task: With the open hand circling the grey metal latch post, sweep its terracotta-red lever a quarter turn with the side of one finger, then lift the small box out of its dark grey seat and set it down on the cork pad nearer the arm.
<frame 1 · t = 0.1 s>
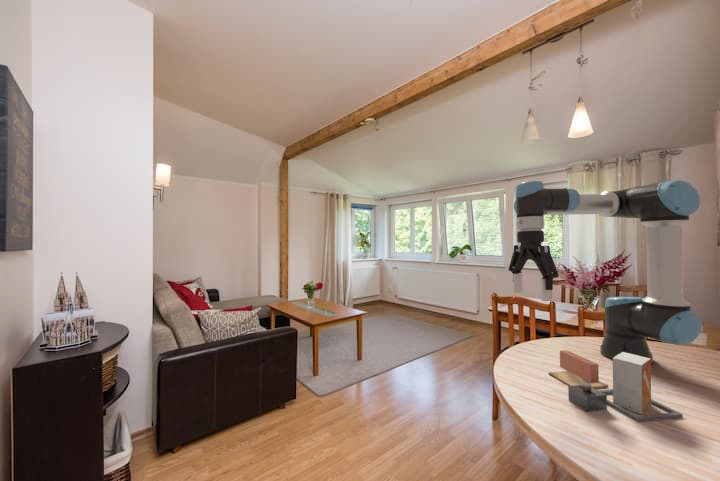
hand: (531, 296, 96), 28 cm above the table, fingers open, 13 cm apart
key housing: (587, 404, 83), on the table
small box: (632, 405, 83), resting in seat rim
seat rim: (632, 404, 83), on the table
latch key: (578, 370, 86), point 8 cm above the table, hinge at 0.0°
cork pad: (576, 380, 97), on the table
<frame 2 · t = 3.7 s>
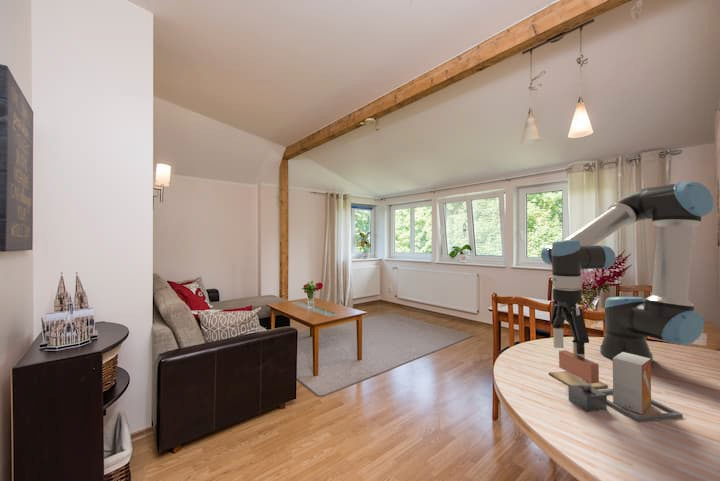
hand: (568, 355, 95), 9 cm above the table, fingers open, 13 cm apart
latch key: (577, 371, 86), point 8 cm above the table, hinge at 2.5°, touching gripper
everything else where it was.
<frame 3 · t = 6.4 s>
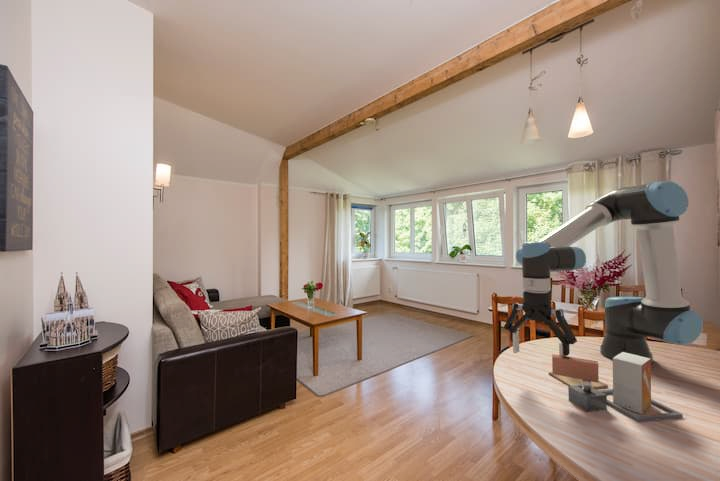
hand: (538, 358, 94), 9 cm above the table, fingers open, 13 cm apart
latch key: (574, 373, 85), point 8 cm above the table, hinge at 49.9°, touching gripper
everything else where it was.
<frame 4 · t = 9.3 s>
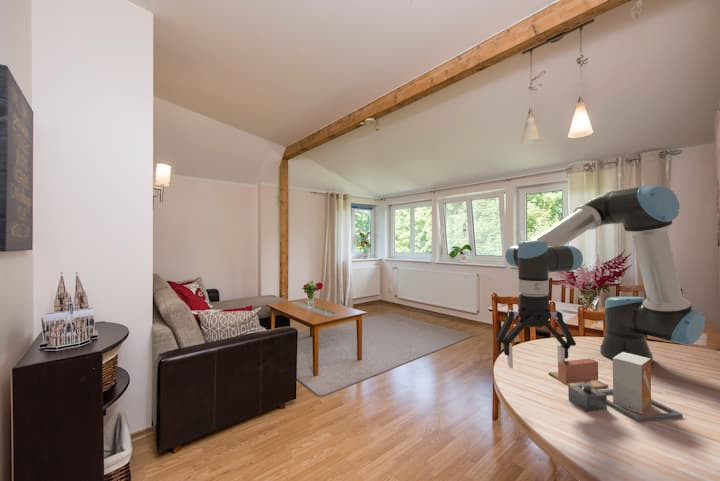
hand: (535, 367, 87), 9 cm above the table, fingers open, 13 cm apart
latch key: (578, 376, 83), point 8 cm above the table, hinge at 93.5°
everything else where it was.
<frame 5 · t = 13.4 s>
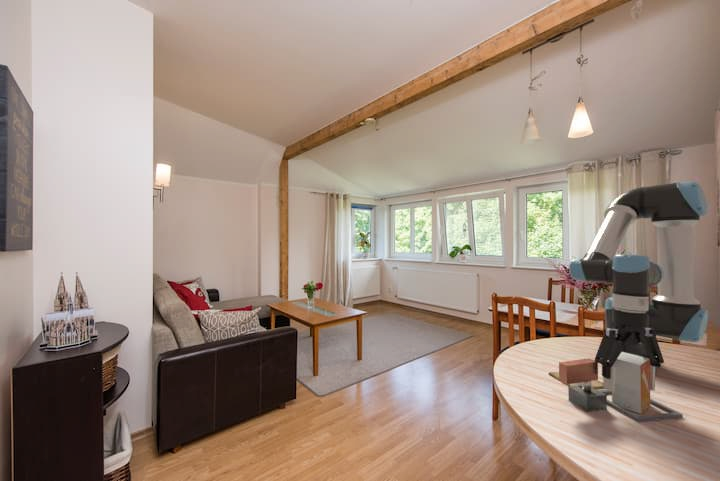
hand: (628, 389, 83), 5 cm above the table, fingers open, 12 cm apart
small box: (631, 405, 83), resting in seat rim, touching gripper
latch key: (578, 376, 83), point 8 cm above the table, hinge at 95.8°, touching hand
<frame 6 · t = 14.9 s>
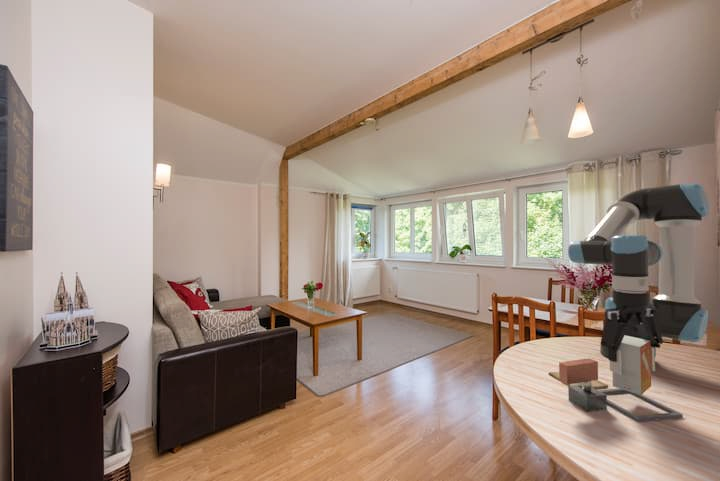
hand: (632, 370, 83), 9 cm above the table, fingers closed on small box, 10 cm apart
small box: (632, 387, 83), point 5 cm above the table, touching gripper
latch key: (578, 376, 83), point 8 cm above the table, hinge at 96.3°
when the fingers open (5 cm above the table, at t = 19.9 s): small box stays where it is, resting on cork pad.
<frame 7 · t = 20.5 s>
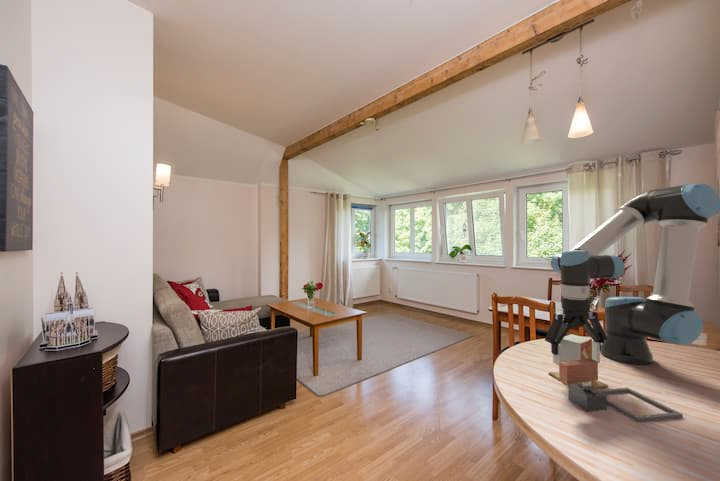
hand: (576, 362, 97), 6 cm above the table, fingers open, 13 cm apart
small box: (576, 378, 98), resting on cork pad
everything else where it was.
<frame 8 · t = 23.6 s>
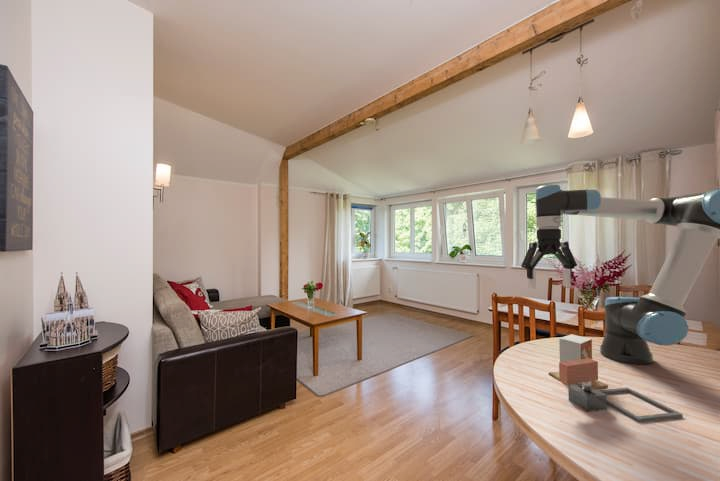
hand: (549, 287, 108), 29 cm above the table, fingers open, 13 cm apart
nothing on the table moved.
at the end: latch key at +96° (first picture: +0°); small box inside the target area on the cork pad (0.2 cm from its centre), point 0.4 cm above the cork pad's base; small box tilted 0° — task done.
